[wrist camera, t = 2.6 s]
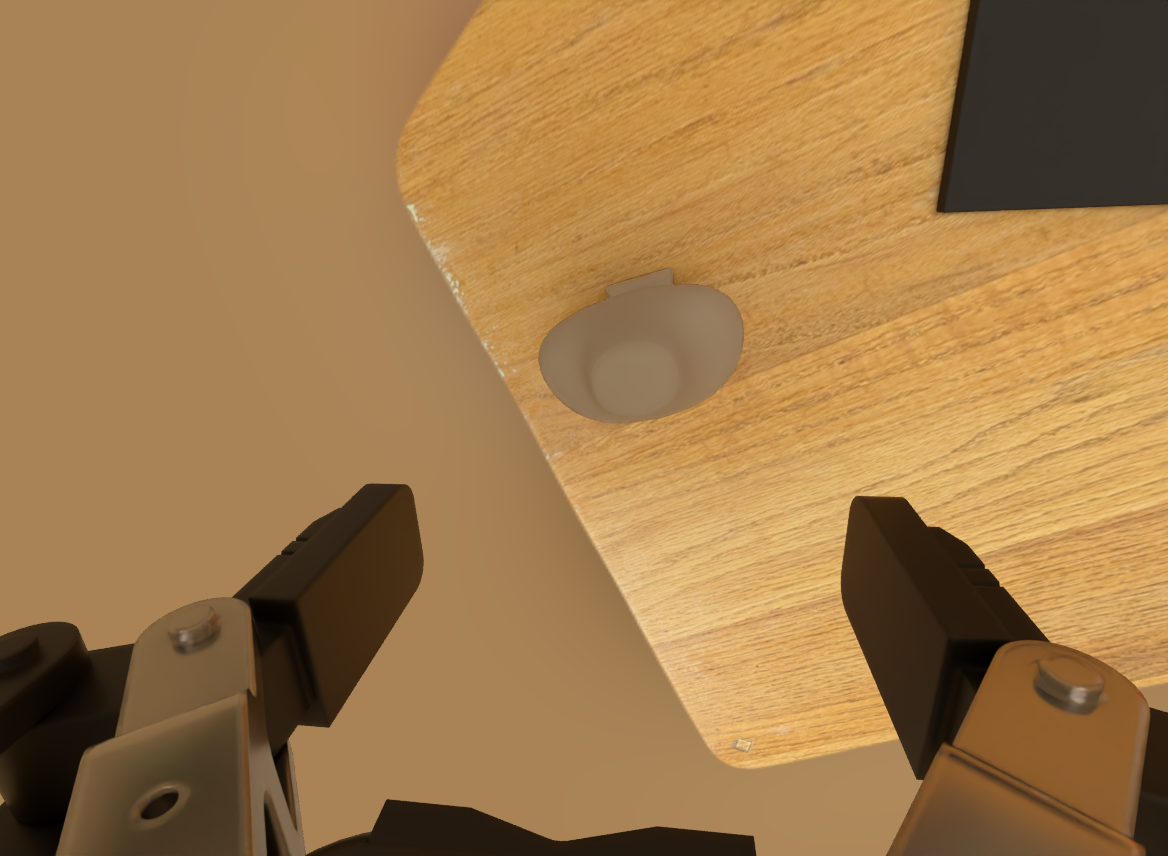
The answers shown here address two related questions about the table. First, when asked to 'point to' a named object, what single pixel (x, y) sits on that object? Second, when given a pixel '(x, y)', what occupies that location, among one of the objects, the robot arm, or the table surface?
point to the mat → (1060, 107)
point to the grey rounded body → (643, 350)
